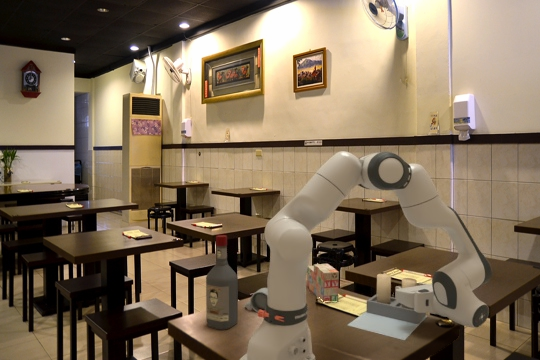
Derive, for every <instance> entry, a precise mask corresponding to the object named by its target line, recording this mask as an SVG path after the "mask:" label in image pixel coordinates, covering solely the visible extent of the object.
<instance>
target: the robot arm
mask: <svg viewBox="0 0 540 360" xmlns="http://www.w3.org/2000/svg"><path fill="white" fill-rule="evenodd" d="M356 186H359V187H360V188H363V189H366V190H371V191H377V192H382V191H392V192H393V193H394V194H395V196H396V197H397V199H398V203H399V205H400V207H401V209H402V210H401V211H402V213H403V215H404V217H405V218H406V220H407V221H408V223H409V224H410V225H412V226H414V227H415V228H418V229H421V230H422V229H423V230H434V229H435V230H436V229H440V230H443V231H445V233H446V234H447V236H448V237H449V239H450V241H451V242H452V244H453V246H454V247H455V249H456V250H457V253H458V254H457V258H456V259H453V261H451V262H449V263H448V264H446V265H444V266H442V267H441V268H439V269H438V270H436V271H435V272H434V273H433V274H432V278H431V283H423V282H417V286H414V287H408V288H402V285H398V286H397V285H396V286H395V287H394V288H395V290H394V292H395V293H394V294H395V295H394V298H395V299H396V301H397V302H399V303H401V304H403V305H405V306H407V307H409V308H414V310H415V311H416V312H418V313H426V314H434V315H439V316H440V317H445V318H446V317H447V318H448V319H449V320H450V321H453V322H454V323H457V324H459V325H462V326H464V327H466V328H468V327H469V328H473V329H476V328H479V327H480V326H482V325H484V323H485V322H487V320H488V317H489V315H490V314H489V313H490V308H489V306H488V305H487V304H486V303H485V302H484V301H482V300H481V299H479V298H478V297H477V296H476V295H475V293H474V292H473V291H475V290H476V289H477V288H478V287H479V288H480V287H481V286H483V285H485V284H487V283H489V282H490V281H491V279H492V277H493V271H492V265H491V263H490V261H489V259H487V257H486V256H485V255H484V254H483V253H482V252H481V250H480V249H479V247H478V245H477V244H476V242H475V240H474V239H473V238H474V237H472V235H471V233H470V232H469V230H468V227H466V225H465V223H464V221H463V220H462V218H461V217H460V215H459V214H458V213H457V211H456V210H455V209H453V207H451V206H447V204H446V203H444V201H443V200H442V198H441V196H440V194H439V191H438V190H437V187H436V186H435V184H434V181H433V179H432V177H431V176H430V174H429V173H428V171H427V170H426V169H425V168H424V166H423V165H421V164H419V163H407V162H406V161H405V160H404V159H403V158H402V157H401V156H400V155H398V154H397V153H394V152H392V151H390V152H389V151H382V152H372V153H370V154H366V155H363V156H361V157H357V156H356V155H355V154H353V153H351V152H349V151H345V150H342V151H338V152H336V153H334V154H333V155H332V156H331V157H330V158H329V159H327V161H325V162H324V163H323V164H322V165H321V166H320V167H319V168H318V169H317V170H316V172H315V173H314V174H313V175H312V177H311V178H310V179H309V180H308V181H307V182H306V184H305V185H304V186H303V187H302V188H301V189H300V190H299V192H298V193H297V194H296V195H295V196H294V197H293V198H292V199H291V200H290V201H288V202H287V203H286V204H285V205H284V206H283V207H282V208H281V209H280V210H279V211H277V213H276V214H275V215H274V216H273V217H271V218H270V219H269V220H268V221H267V223H266V225H265V228H264V234H263V235H264V239H265V242H266V244H267V245H268V247H269V249H270V251H269V252H270V258H269V259H270V260H269V267H268V268H269V269H268V275H267V276H266V277H267V283H266V284H267V287H266V288H267V304H266V307H265V311H263V310H261V309H260V310H259V312H257V316H258V318H262V321H261V323H260V324H259V325H258V327H257V329H256V330H255V332H254V333H253V334H252V336H251V338H250V339H249V341H248V344H247V351H246V353H244V355H243V356H242V357H240V358H239V360H316V356H315V354H314V353H313V347H312V346H313V344H312V334H311V333H312V332H311V329H310V326H309V323H308V321H307V318H308V313H309V311H308V310H309V309H308V304H307V269H308V266H309V262H310V257H311V254H312V251H313V247H314V245H313V244H314V243H313V239H312V235H311V233H310V232H311V231H313V230H314V229H315V228H316V227H317V226H319V225H320V224H322V223H323V222H325V221H327V219H329V218H330V216H331V215H332V214H333V213H334V212H335V211H336V210H337V208H338V207H339V206H340V204H341V203H342V202H343V201H344V200H345V198H346V197H348V194H349V193H350V192H351V191H352V190H353V189H354V188H356Z"/></svg>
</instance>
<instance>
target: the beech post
mask: <svg viewBox="0 0 540 360" xmlns="http://www.w3.org/2000/svg"><path fill="white" fill-rule="evenodd" d="M417 283H418V280H416V279H415V278H412V277H404V278H401V287H402V288H408V287H414V286H417ZM402 307H403V308H407V309H412V310H414V308H409V307H407V306H405V305H403V304H402Z"/></svg>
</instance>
